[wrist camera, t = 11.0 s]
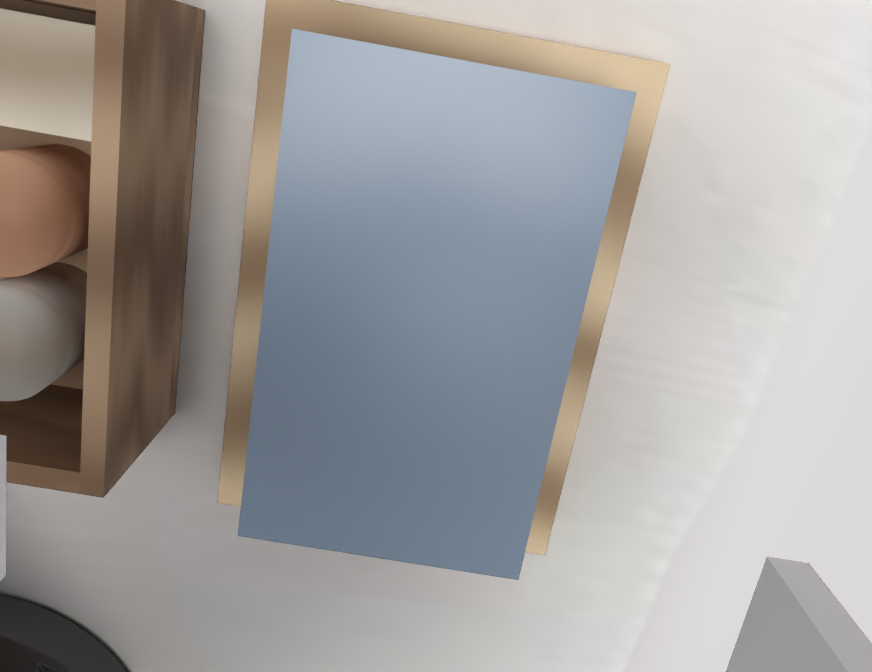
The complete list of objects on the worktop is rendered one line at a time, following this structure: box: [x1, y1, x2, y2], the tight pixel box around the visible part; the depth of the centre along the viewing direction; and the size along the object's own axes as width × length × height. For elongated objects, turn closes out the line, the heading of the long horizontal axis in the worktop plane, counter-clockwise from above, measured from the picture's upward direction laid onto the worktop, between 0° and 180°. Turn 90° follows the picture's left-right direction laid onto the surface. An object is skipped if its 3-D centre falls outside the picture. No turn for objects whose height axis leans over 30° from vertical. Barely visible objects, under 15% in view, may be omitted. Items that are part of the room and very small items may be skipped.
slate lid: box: [238, 29, 637, 580], centre depth 27 cm, size 17×10×4 cm, turn 170°
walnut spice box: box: [0, 0, 205, 498], centre depth 26 cm, size 16×9×7 cm, turn 170°
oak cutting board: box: [217, 0, 670, 555], centre depth 30 cm, size 20×14×2 cm
